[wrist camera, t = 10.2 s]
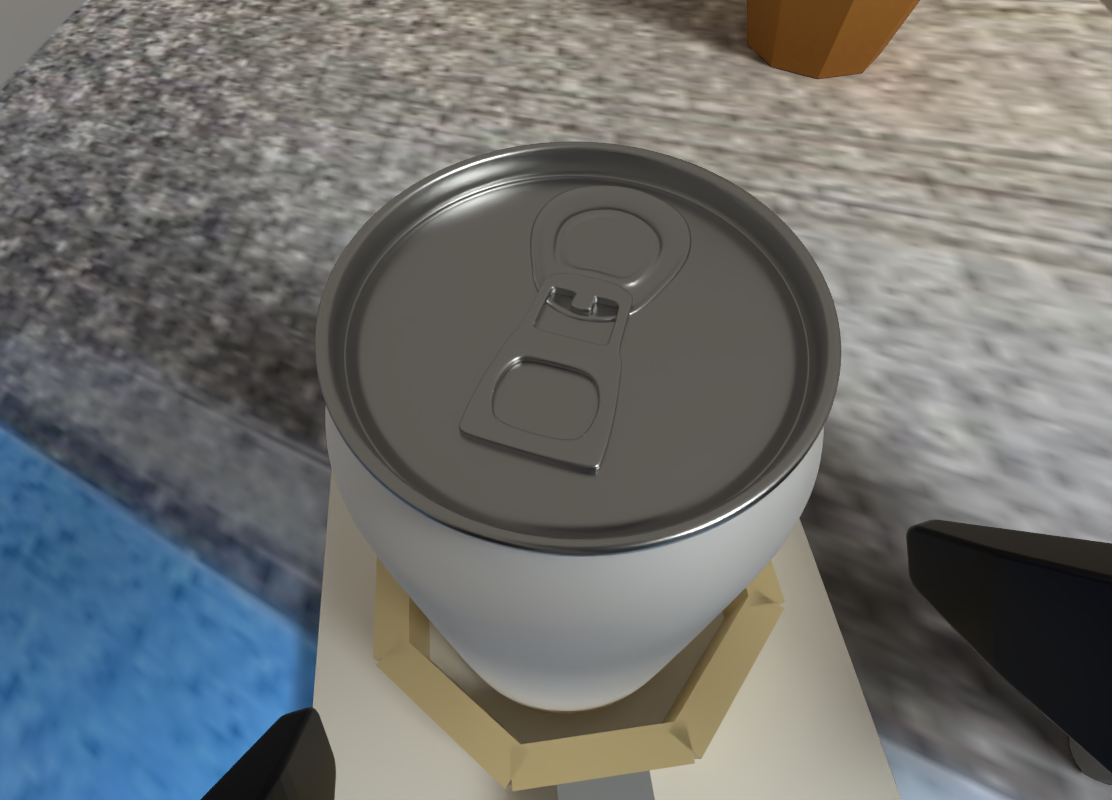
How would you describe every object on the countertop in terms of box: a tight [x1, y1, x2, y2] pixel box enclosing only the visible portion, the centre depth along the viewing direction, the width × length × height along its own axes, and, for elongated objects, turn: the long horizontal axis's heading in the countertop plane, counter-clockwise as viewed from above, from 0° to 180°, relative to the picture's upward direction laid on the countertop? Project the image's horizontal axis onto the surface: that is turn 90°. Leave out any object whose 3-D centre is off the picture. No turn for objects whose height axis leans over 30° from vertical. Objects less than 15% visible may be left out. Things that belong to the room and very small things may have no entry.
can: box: [315, 142, 841, 714], centre depth 12 cm, size 6×6×12 cm
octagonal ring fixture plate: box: [313, 469, 901, 800], centre depth 16 cm, size 25×14×4 cm, turn 7°
